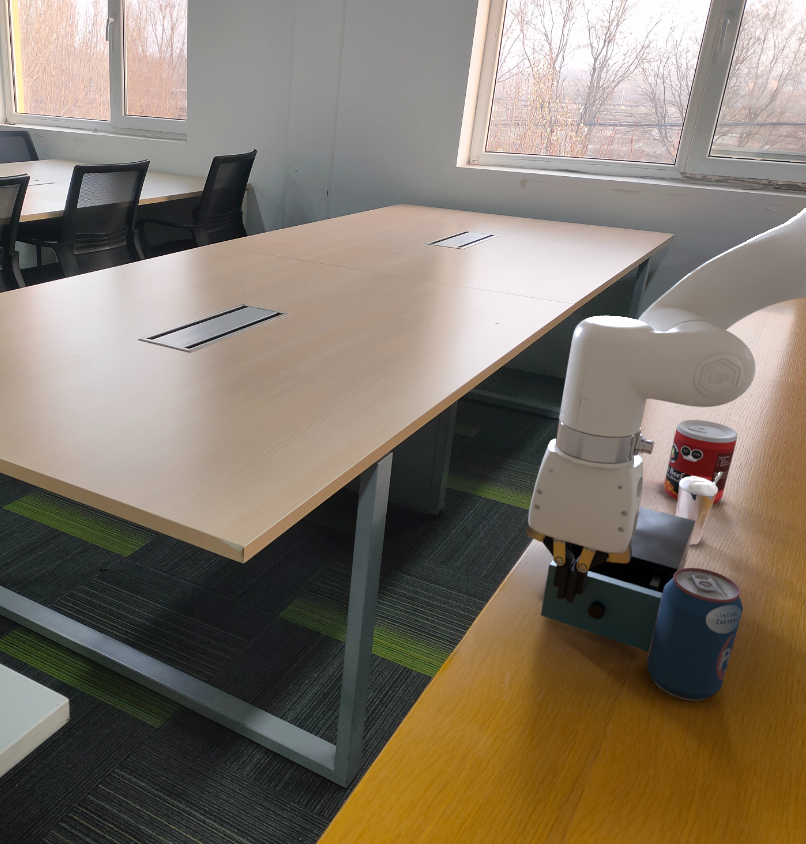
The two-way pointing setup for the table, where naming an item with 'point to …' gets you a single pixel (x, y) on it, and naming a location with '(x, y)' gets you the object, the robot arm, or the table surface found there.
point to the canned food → (700, 454)
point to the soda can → (694, 633)
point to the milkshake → (696, 502)
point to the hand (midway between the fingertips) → (567, 594)
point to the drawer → (611, 602)
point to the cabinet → (661, 541)
